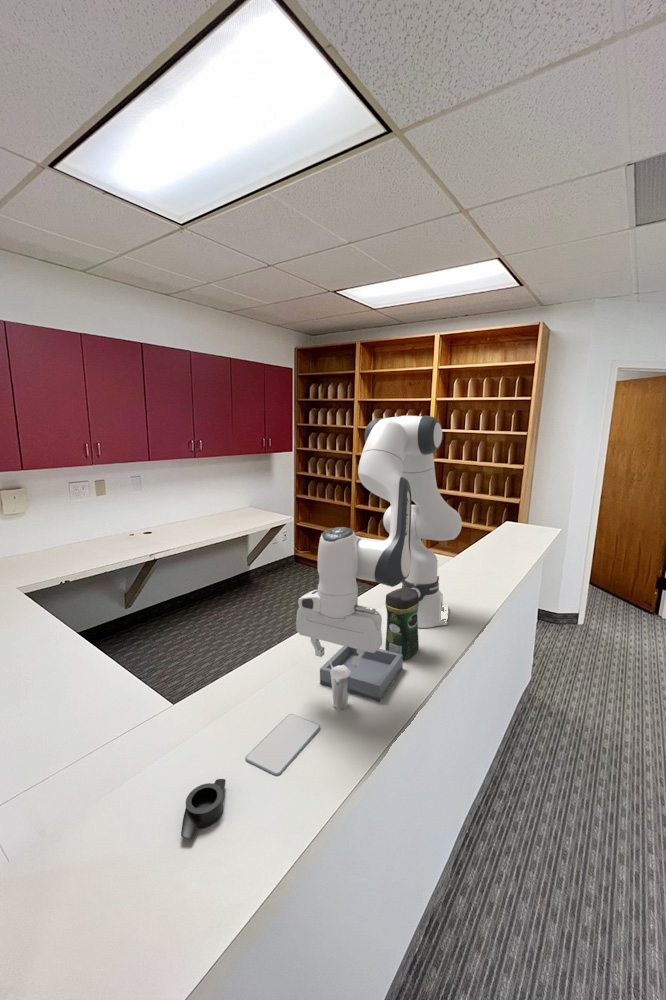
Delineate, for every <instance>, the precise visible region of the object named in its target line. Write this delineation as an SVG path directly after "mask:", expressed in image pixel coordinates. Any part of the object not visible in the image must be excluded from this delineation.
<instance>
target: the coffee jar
mask: <svg viewBox="0 0 666 1000" xmlns="http://www.w3.org/2000/svg"><path fill="white" fill-rule="evenodd" d="M384 604H385V608H386V632H385V633H386V634H385V635H386V637H385V648H384V650H386V651H390V652H395V653H399V654H403V661H404V660H407V659H409V658H412V657H413V656H414V655H416V654H417V653H418V652H419V649H420V645H419V644H420V643H419V642H420V641H419V628H418V618H417V615H418V606H419V597H418V593H417V591H416V590H415V589H411V588H408V587H403V588H402V587H401V588H397V589H395V590H392V591H390V592H388V593H386V595H385V603H384Z"/></svg>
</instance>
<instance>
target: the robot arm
mask: <svg viewBox="0 0 666 1000" xmlns="http://www.w3.org/2000/svg"><path fill="white" fill-rule="evenodd" d="M364 430H365V431H364V443H365V444H364V446H363V449H362V452H361V455H360V459H359V462H358V463H359V464H358V467H357V475H358V478H359V481H360V483H361V485H363V487H364V488H366V490H368V491H369V492H371V493H372V494H373V495H375V496H377V497H379V498H381V499H383V500H385V501H387V502H388V503H390V506H389V507H388V508H386V510H385V512H384V514H383V517H382V521H383V522H382V523H383V527H384V529H385V531H386V532H387V533H388V534H389V536H388V537H387V538H386V539H375V538H369V537H368V538H367V537H365V536H359V535H356V533H355V531H354V530H353V529H352V528H350V527H346V526H337V527H330V528H329V529H326V530H325V531H323V532H322V533H321V535H320V537H319V543H318V550H317V572H318V573H317V574H318V576H319V580H318V581H319V582H318V584H317V589H313V590H311V591H308V592H307V593H305V594H303V595H302V596H301V597H299V598H298V601H297V603H298V606H299V608H297V611H296V620H295V621H296V622H295V623H296V624H295V625H296V626H295V628H296V632H298V635H300V636H304V637H308V638H310V642H311V644H312V646H313V648H314V651H315V652H314V653H315V654H314V655H315V656H316V657H318V658H322V657H323V656H325V647H324V646H322V644H321V641H324V642H328V643H331V644H336V645H338V646H339V645H340V646H342V647H343V646H347V647H351V648H355V649H357V653H359V655H358V656H355V657H354V658H353V659H352V662H353V663H352V666H355V667H360V666H361V663H362V656H363V655H364V653H365V652H366V651H367V652H370V653H375V652H376V651H377V650H378V649H381V647H382V645H383V635H382V634H383V633H382V624H383V622H382V621H383V618H382V615H381V613H380V612H379V611H377V610H376V608H373V607H368V606H367V607H366V606H363V605H359V604H358V603H359V601H358V599H359V597H358V596H359V595H358V594H359V590H358V589H359V587H358V583H357V579H359V580H365V581H369V582H375V583H376V582H377V584H381V585H385V586H387V587H391V588H392V587H395V586H398V585H399V584H401V588H403V587H408V588H411V589H415V590H416V591H417V593H418V597H419V606H418V615H417V618H418V629H419V628H423V629H426V628H427V629H428V628H433V627H438V626H448V624H449V621H448V622H447V621H444V620H446V619H442V620H441V611H443V612H444V607H442V606H443V605H444V604H445V603H444V602H443V601H444V600H443V599H444V597H443V592H441V591H440V583H439V581H440V576H439V575H438V564H439V563H438V557H437V555H436V554H435V552H433V551H432V550H431V549H429V548H427V547H426V546H425V545H424V542H423V541H422V540H429V541H430V540H431V541H438V542H440V541H441V542H442V541H451V540H453V541H454V540H455V539H456V538H457V537H458V536H459V535H460V533H461V530H462V527H463V522H462V521H463V520H462V517H461V516H460V513H459V512H458V511H457V510H456V509H454V508H453V507H452V506H451V505H450V504H449V503H447V502H446V500H444V498H443V497H442V495H441V494H440V491H439V489H438V486H437V485H438V484H437V480H436V479H437V477H436V469H435V459H434V457H435V456H434V453H435V452H437V450H439V448H440V447H441V444H442V440H443V430H442V425H441V422H440V421H439V420H438V419H437V417H434V416H431V415H423V416H421V415H420V416H419V415H400V416H392V417H386V418H383V417H379V418H375V419H372V420H371V421H370V422H369V423H368V424H367V425H366V427H365V429H364ZM412 503H415V504H412ZM445 611H446V610H445ZM449 611H450V609H449V610H448V616H449V613H450V612H449ZM445 622H446V623H445Z"/></svg>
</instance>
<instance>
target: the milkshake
mask: <svg viewBox="0 0 666 1000" xmlns="http://www.w3.org/2000/svg"><path fill="white" fill-rule="evenodd" d="M328 660H329V659H328ZM329 662H330V665H331V668H332V669H331V671H330V675H331V683H332V687H331V691H332V703H333V704H332V705H333V706H334V708H336V709H337V710H343V709H346V708H347V707H348V706H349V694H350V693H349V681H350V669H349V668H348V667H346V666H345V665H338V666H335V667H333V666H332V663H331V660H329Z"/></svg>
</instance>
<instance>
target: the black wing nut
mask: <svg viewBox="0 0 666 1000" xmlns="http://www.w3.org/2000/svg"><path fill="white" fill-rule="evenodd" d="M225 788H226V778H217V779H215V781H214V782H213V783H212V782H209V783H203V784H200V785H198V786H197V787H194V788H193V789H192V790H191V791H190V792H189V794H188V795H187V796H186V799H185V810H184V812H183V813H184V814H183V818H182V825H181V833H180V836H181V837H183V838H185V839H188V840H192V841H193V839H194V837H195V835H196V833H197V831H198V830H200V829H201V830H202V829H207V828H209V827H211V826H213V825H215V824H216V823H217V822H218V821H219V820H220V819H221V817H222V815H223V813H224V810H225V807H224V805H225V804H224V791H225Z"/></svg>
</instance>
